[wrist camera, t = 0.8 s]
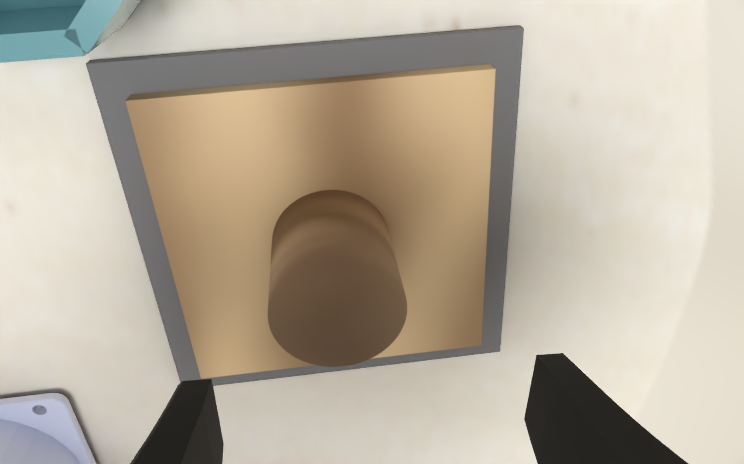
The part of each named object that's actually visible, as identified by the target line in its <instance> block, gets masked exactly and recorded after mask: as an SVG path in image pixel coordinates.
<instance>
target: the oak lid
mask: <svg viewBox="0 0 744 464" xmlns="http://www.w3.org/2000/svg"><path fill="white" fill-rule="evenodd" d="M495 72H496V69H495V68H494V67H493V66H492V65H491V64H483V65H471V66H460V67H448V68H436V69H424V70H413V71H401V72H389V73H378V74H366V75H354V76H342V77H331V78H319V79H307V80H295V81H284V82H272V83H260V84H249V85H237V86H225V87H213V88H202V89H190V90H178V91H166V92H155V93H143V94H131V95H130V96H129V97H128V98H127V99H126V105H127V109H128V112H129V116H130V120H131V123H132V127H133V131H134V134H135V138H136V142H137V145H138V149H139V153H140V156H141V160H142V164H143V167H144V171H145V175H146V178H147V182H148V186H149V189H150V193H151V197H152V201H153V204H154V208H155V212H156V215H157V219H158V223H159V226H160V230H161V234H162V237H163V241H164V245H165V248H166V252H167V256H168V259H169V263H170V267H171V270H172V274H173V278H174V281H175V285H176V289H177V292H178V296H179V300H180V303H181V307H182V311H183V314H184V318H185V322H186V325H187V329H188V333H189V336H190V340H191V344H192V347H193V351H194V355H195V358H196V362H197V366H198V369H199V373H200V377H201V379H203V378H212V377H220V376H229V375H237V374H245V373H254V372H262V371H271V370H279V369H288V368H296V367H304V366H313V365H318V366H326V367H341V366H348V365H354V364H357V363H361V362H363V361H366V360H369V359H372V358H380V357H389V356H397V355H405V354H414V353H422V352H431V351H439V350H448V349H456V348H464V347H473V346H481V340H482V321H483V302H484V283H485V264H486V244H487V225H488V206H489V187H490V168H491V149H492V129H493V110H494V91H495Z"/></svg>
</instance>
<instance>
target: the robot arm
mask: <svg viewBox="0 0 744 464" xmlns="http://www.w3.org/2000/svg"><path fill="white" fill-rule="evenodd" d="M38 405H40V406H43V407H40V406H38ZM525 423H526V426H527V430H528V433H529V437H530V440H531V444H532V447H533V450H534V453H535V456H536V459H537V463H538V464H688V463H687V462H685V461H684V460H683V459H681V458H680V457H679V456H678V455H676V454H675V453H674V452H673V451H671V450H670V449H669V448H668V447H666V446H665V445H664V444H662V443H661V442H660V441H659V440H658V439H656V438H655V437H654V436H653V435H652V434H650V433H649V432H648V431H647V430H646V429H645V428H643V427H642V426H641V425H640V424H639V423H638V422H636V421H635V420H634V419H633V418H632V417H631V416H630V415H629V414H627V413H626V412H625V411H624V410H623V409H622V408H621V407H620V406H618V405H617V404H616V403H615V402H614V401H613V400H612V399H611V398H610V397H609V396H608V395H606V394H605V393H604V392H603V391H602V390H601V389H600V388H599V387H598V386H597V385H596V384H595V383H594V382H593V381H592V380H590V379H589V378H588V377H587V376H586V375H585V374H584V373H583V372H582V371H581V370H580V369H579V368H578V367H577V366H576V365H575V364H574V363H573V362H571V361H570V360H569V359H568V358H567V357H566V356H565V355H564V354H563V353H560V354H546V355H537V356H536V361H535V366H534V371H533V377H532V382H531V387H530V392H529V398H528V403H527V408H526V413H525ZM222 458H223V439H222V433H221V428H220V422H219V417H218V411H217V406H216V400H215V395H214V390H213V384H212V379H202V380H188V381H182V382H181V383H180V384H179V385H178V386H177V388H176V390H175V392H174V394H173V396H172V397H171V399H170V401H169V403H168V404H167V406H166V408H165V410H164V411H163V413H162V415H161V416H160V418H159V420H158V421H157V423H156V425H155V426H154V428H153V430H152V431H151V433H150V434H149V436H148V438H147V439H146V441H145V442H144V444H143V445H142V447H141V448H140V450H139V451H138V453H137V454H136V456H135V457H134V459H133V460H132V462H131V463H130V464H222ZM0 464H96V462H95V459H94V457H93V455H92V453H91V450H90V448H89V446H88V443H87V441H86V439H85V437H84V434H83V432H82V430H81V427H80V425H79V423H78V421H77V418H76V416H75V414H74V412H73V409H72V407H71V405H70V402H69V400H68V399H67V398H66V397H65V396H64V395H62V394H59V393H46V394H38V395H29V396H21V397H12V398H4V399H0Z"/></svg>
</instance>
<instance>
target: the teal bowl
mask: <svg viewBox="0 0 744 464" xmlns="http://www.w3.org/2000/svg"><path fill="white" fill-rule="evenodd" d="M140 1H141V0H0V62H13V61H25V60H38V59H50V58H63V57H75V56H84V55H85V54H87V53H89V52H90V51H92V50H93V49H94V48H95V47H97V46H98V45H99V44H100V43H102V42H103V41H104V40H105V39H106V38H108V37H109V36H110V35H111V34H113V33H114V32H115V31H116V30H118V29H119V28H120V27H121V26H122V25H124V24H125V23H126V21H127V20H128V18H129V17H130V15H131V14H132V13H133V11H134V10H135V8H136V7H137V5H138V4H139V2H140Z"/></svg>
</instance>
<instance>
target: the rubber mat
mask: <svg viewBox="0 0 744 464" xmlns="http://www.w3.org/2000/svg"><path fill="white" fill-rule="evenodd" d="M523 31H524V28H523V27H521V26H508V27H496V28H483V29H471V30H459V31H446V32H434V33H422V34H409V35H397V36H384V37H372V38H360V39H347V40H335V41H323V42H310V43H298V44H286V45H273V46H261V47H249V48H236V49H224V50H212V51H199V52H187V53H175V54H162V55H150V56H137V57H125V58H113V59H100V60H90V61H89V62H88V63H86V66H87V69H88V72H89V76H90V79H91V82H92V86H93V89H94V93H95V96H96V99H97V103H98V106H99V109H100V113H101V116H102V119H103V123H104V126H105V129H106V133H107V136H108V140H109V143H110V146H111V150H112V153H113V156H114V160H115V163H116V166H117V170H118V173H119V177H120V180H121V183H122V187H123V190H124V193H125V197H126V200H127V203H128V207H129V210H130V214H131V217H132V220H133V224H134V227H135V230H136V234H137V237H138V240H139V244H140V247H141V250H142V254H143V257H144V261H145V264H146V267H147V271H148V274H149V277H150V281H151V284H152V287H153V291H154V294H155V298H156V301H157V304H158V308H159V311H160V314H161V318H162V321H163V324H164V328H165V331H166V335H167V338H168V341H169V345H170V348H171V351H172V355H173V358H174V361H175V365H176V368H177V371H178V375H179V378H180V382H182V381H188V380H202V379H201V377H200V373H199V369H198V366H197V362H196V358H195V355H194V351H193V347H192V344H191V340H190V336H189V333H188V329H187V325H186V322H185V318H184V314H183V311H182V307H181V303H180V300H179V296H178V292H177V289H176V285H175V281H174V278H173V274H172V270H171V267H170V263H169V259H168V256H167V252H166V248H165V245H164V241H163V237H162V234H161V230H160V226H159V223H158V219H157V215H156V212H155V208H154V204H153V201H152V197H151V193H150V189H149V186H148V182H147V178H146V175H145V171H144V167H143V164H142V160H141V156H140V153H139V149H138V145H137V142H136V138H135V134H134V131H133V127H132V123H131V120H130V116H129V112H128V109H127V105H126V99H127V98H128V97H129V96H130V95H131V94H143V93H155V92H166V91H178V90H190V89H202V88H213V87H225V86H237V85H249V84H260V83H272V82H284V81H295V80H307V79H319V78H331V77H342V76H354V75H366V74H378V73H389V72H401V71H413V70H424V69H436V68H448V67H460V66H471V65H483V64H491V65H492V66H493V67H494V68H495V69H496V72H495V91H494V110H493V129H492V149H491V168H490V187H489V206H488V225H487V244H486V264H485V283H484V302H483V321H482V340H481V346H473V347H464V348H456V349H448V350H439V351H431V352H422V353H414V354H405V355H397V356H389V357H380V358H372V359H369V360H366V361H363V362H361V363H357V364H354V365H348V366H341V367H326V366H318V365H313V366H304V367H296V368H288V369H279V370H271V371H262V372H254V373H245V374H237V375H229V376H220V377H212V378H203V379H212V384H213V386H216V385H224V384H232V383H241V382H249V381H257V380H266V379H274V378H282V377H291V376H299V375H307V374H316V373H324V372H332V371H341V370H349V369H358V368H366V367H374V366H383V365H391V364H399V363H408V362H416V361H424V360H433V359H441V358H449V357H458V356H466V355H474V354H483V353H491V352H499V351H500V344H501V330H502V317H503V303H504V289H505V276H506V262H507V249H508V235H509V222H510V208H511V194H512V181H513V167H514V154H515V140H516V126H517V113H518V99H519V86H520V72H521V59H522V45H523Z"/></svg>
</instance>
